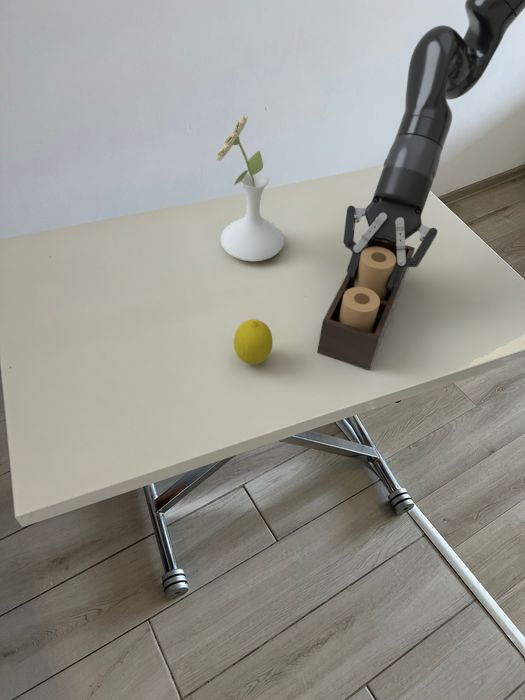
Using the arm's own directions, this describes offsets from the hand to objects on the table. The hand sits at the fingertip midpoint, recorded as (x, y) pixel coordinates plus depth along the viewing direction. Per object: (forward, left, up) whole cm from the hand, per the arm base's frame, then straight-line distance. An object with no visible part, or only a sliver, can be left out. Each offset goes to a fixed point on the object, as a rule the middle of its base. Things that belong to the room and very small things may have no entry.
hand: (369, 284), depth 80 cm
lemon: (+19, -3, -8) cm, 21 cm away
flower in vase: (+4, -25, -8) cm, 26 cm away
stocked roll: (+5, +3, -8) cm, 9 cm away
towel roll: (-2, -1, -5) cm, 5 cm away
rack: (-2, -1, -8) cm, 8 cm away
